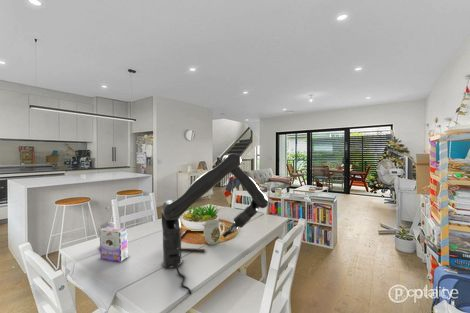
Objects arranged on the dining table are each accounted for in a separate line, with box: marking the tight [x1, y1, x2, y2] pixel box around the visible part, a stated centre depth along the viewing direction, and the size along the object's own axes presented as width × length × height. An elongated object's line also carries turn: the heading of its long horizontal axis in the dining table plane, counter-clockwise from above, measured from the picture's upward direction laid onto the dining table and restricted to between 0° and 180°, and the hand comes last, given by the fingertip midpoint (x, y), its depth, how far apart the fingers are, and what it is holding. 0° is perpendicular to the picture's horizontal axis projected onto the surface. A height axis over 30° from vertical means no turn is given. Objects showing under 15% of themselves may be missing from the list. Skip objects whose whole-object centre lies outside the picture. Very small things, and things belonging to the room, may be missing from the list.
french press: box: [97, 206, 116, 237], centre depth 134 cm, size 10×12×25 cm
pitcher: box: [200, 219, 226, 246], centre depth 141 cm, size 11×18×14 cm, turn 129°
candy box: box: [98, 226, 129, 263], centre depth 121 cm, size 14×6×16 cm, turn 74°
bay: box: [181, 228, 206, 253], centre depth 143 cm, size 22×29×2 cm
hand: (223, 236), depth 140 cm, fingers closed
